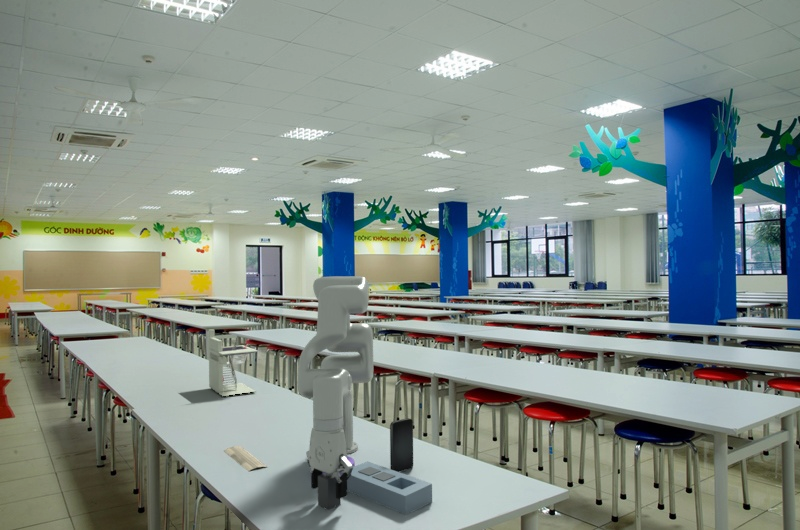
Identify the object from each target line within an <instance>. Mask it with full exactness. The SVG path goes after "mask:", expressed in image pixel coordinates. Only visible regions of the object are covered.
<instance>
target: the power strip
mask: <svg viewBox="0 0 800 530" xmlns="http://www.w3.org/2000/svg"><path fill="white" fill-rule="evenodd" d="M341 475H342V473H341ZM347 492H350V493H351V494H355V495H357V496H359V497H362V498H364V499H366V500H369V501H371V502H373V503H376V504H378V505H381V506H383V507H386V508H388V509H391V510H393V511H395V512H397V513H400V514H403V515H404V516H405V515H409V514H410V513H412V512H415V511H416V510H419V509H420V508H422V507H425V506H427V505H429V504H431V503H433V483H431V482H429V481H426V480H424V479H423V480H422V479H419V478H416V477H414V476H411V475H408V474H405V473H403V472H397V471H394V470H391V469H390V468H388V467H386V466H385V467H384V466H382V465H379V464H377V463H373V462H371V461H365V462H363V463H360V464H357V465H355V466H354V467H353V470H352V472H351V476H350V477H349V480H347Z"/></svg>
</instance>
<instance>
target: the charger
mask: <svg viewBox="0 0 800 530" xmlns="http://www.w3.org/2000/svg"><path fill="white" fill-rule="evenodd" d="M336 482H338V481H337V479H336V477H335V475H334V474H328V473H324V474H321V475H319V476H318V487H317V505H318V506H319V507H321V508H323V509H326V510H328V511H329V510H331V509H334V508H336V507H339V506H341V498H340V499H336Z"/></svg>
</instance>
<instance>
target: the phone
mask: <svg viewBox="0 0 800 530" xmlns="http://www.w3.org/2000/svg"><path fill="white" fill-rule="evenodd" d="M413 426H414V422H413V419H412V418H409V417H406V418H403V419H399V420H394V421H391V423H389V441H390V442H389V449H390V450H389V451H390V452H389V453H390V455H389V456H390V457H389V460H390V461H389V462H390V463H389V464H390V466H389V467H390V468H389V469H391V470H394V471H397V472H400V473H402V472H404V471H407V470H411V469H413V467H414V427H413Z"/></svg>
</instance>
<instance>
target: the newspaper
mask: <svg viewBox="0 0 800 530" xmlns="http://www.w3.org/2000/svg"><path fill="white" fill-rule="evenodd" d="M223 451H224V452H225V454H227V455H228V456H229V457H230V458H231V459H232V460H234V461H235V462H236V463H238V464H239V465H240V466H241V467H242V468H244V469H245V470H246V471H247V472H250V471H251V470H255V469H258V468H267V465H265V464H264V463H262V462H261V461H260V460H259V459H258V458H256V457H255V456H254V455H253V454H251V453H250V452H249V451H248V450H246V449H245V448H244V447H243V446H238V445H236V446H235V445H234V446H231V447H228V448H226V449H224V450H223Z"/></svg>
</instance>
